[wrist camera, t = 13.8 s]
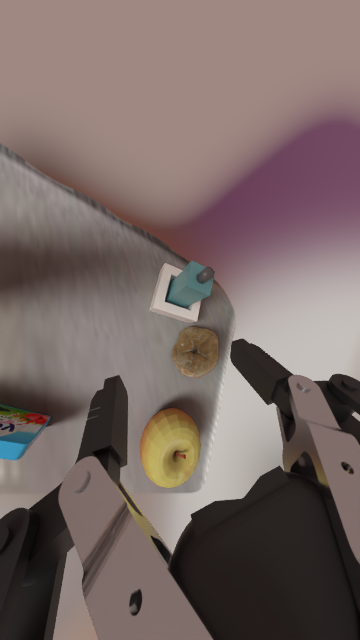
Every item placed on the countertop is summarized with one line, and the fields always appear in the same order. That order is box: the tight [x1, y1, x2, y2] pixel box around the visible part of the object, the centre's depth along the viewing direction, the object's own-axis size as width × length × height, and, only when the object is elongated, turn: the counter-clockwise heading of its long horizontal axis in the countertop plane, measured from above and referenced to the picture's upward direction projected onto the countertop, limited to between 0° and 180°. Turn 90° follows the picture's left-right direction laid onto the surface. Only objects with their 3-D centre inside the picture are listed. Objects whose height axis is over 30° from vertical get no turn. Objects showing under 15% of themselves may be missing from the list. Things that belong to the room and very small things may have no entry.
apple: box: [140, 408, 201, 488], centre depth 23 cm, size 10×10×8 cm
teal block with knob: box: [164, 261, 215, 308], centre depth 25 cm, size 4×4×13 cm
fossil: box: [172, 326, 219, 378], centre depth 29 cm, size 9×4×10 cm
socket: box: [149, 263, 201, 323], centre depth 29 cm, size 9×9×4 cm
